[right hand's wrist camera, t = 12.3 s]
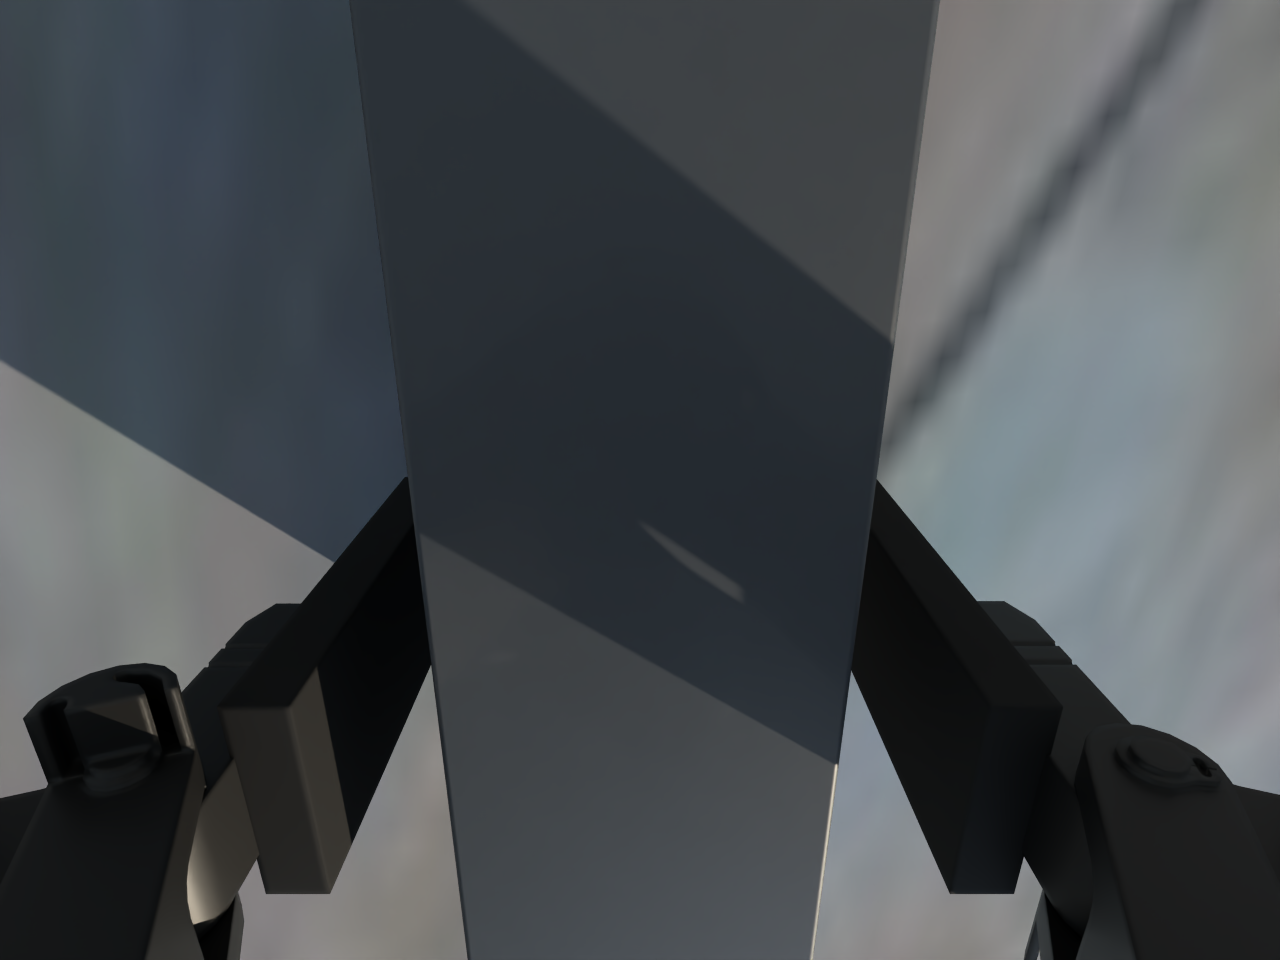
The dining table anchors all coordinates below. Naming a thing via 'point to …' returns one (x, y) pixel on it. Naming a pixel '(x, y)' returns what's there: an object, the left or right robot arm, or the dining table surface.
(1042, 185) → the dining table surface
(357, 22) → the beam
